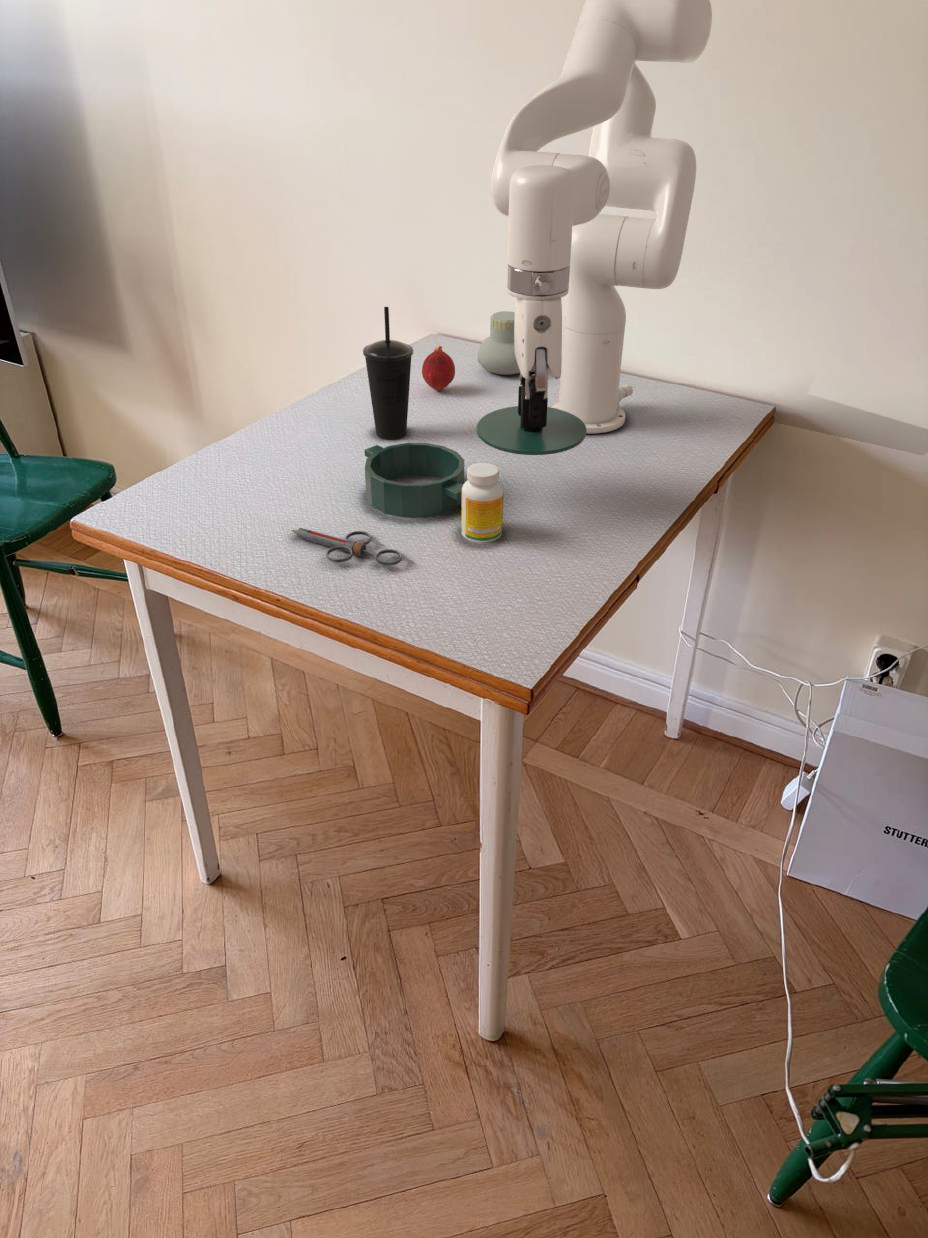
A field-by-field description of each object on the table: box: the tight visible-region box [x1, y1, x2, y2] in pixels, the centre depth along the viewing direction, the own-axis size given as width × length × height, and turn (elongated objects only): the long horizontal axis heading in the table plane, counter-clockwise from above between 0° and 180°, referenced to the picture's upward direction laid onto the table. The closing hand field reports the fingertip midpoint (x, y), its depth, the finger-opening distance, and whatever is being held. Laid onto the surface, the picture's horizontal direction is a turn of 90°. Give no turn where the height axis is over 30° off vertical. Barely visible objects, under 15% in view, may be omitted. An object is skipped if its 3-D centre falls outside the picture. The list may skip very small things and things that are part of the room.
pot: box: [364, 442, 465, 519], centre depth 131 cm, size 14×19×5 cm
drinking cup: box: [362, 306, 414, 441], centre depth 145 cm, size 8×8×20 cm
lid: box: [476, 381, 587, 456], centre depth 124 cm, size 15×15×7 cm
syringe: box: [281, 526, 403, 567], centre depth 120 cm, size 8×18×2 cm, turn 63°
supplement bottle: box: [460, 462, 505, 543], centre depth 121 cm, size 5×5×10 cm
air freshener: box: [477, 311, 520, 376], centre depth 171 cm, size 11×8×10 cm
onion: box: [421, 345, 456, 392], centre depth 163 cm, size 6×6×8 cm
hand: (531, 419), depth 125 cm, fingers closed on lid, 3 cm apart
